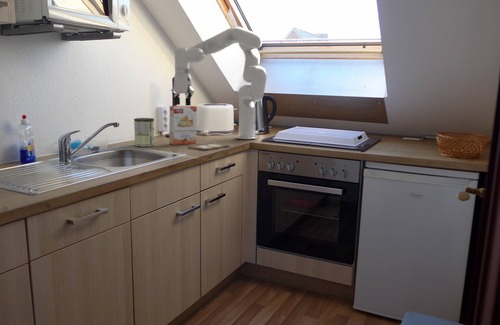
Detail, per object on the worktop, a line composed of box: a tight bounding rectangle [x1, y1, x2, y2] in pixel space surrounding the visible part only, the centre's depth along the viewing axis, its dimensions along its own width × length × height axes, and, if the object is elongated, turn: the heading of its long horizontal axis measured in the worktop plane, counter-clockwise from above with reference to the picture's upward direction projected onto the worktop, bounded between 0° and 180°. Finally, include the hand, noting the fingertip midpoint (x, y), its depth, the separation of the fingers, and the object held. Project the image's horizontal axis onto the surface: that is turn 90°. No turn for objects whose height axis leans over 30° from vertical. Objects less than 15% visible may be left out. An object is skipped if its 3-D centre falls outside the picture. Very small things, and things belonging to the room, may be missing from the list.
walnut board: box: [187, 143, 230, 152], centre depth 236 cm, size 19×12×1 cm, turn 143°
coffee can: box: [133, 117, 155, 147], centre depth 238 cm, size 10×10×14 cm
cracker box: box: [168, 105, 198, 146], centre depth 246 cm, size 14×6×21 cm, turn 125°
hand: (182, 104), depth 244 cm, fingers open, 7 cm apart
